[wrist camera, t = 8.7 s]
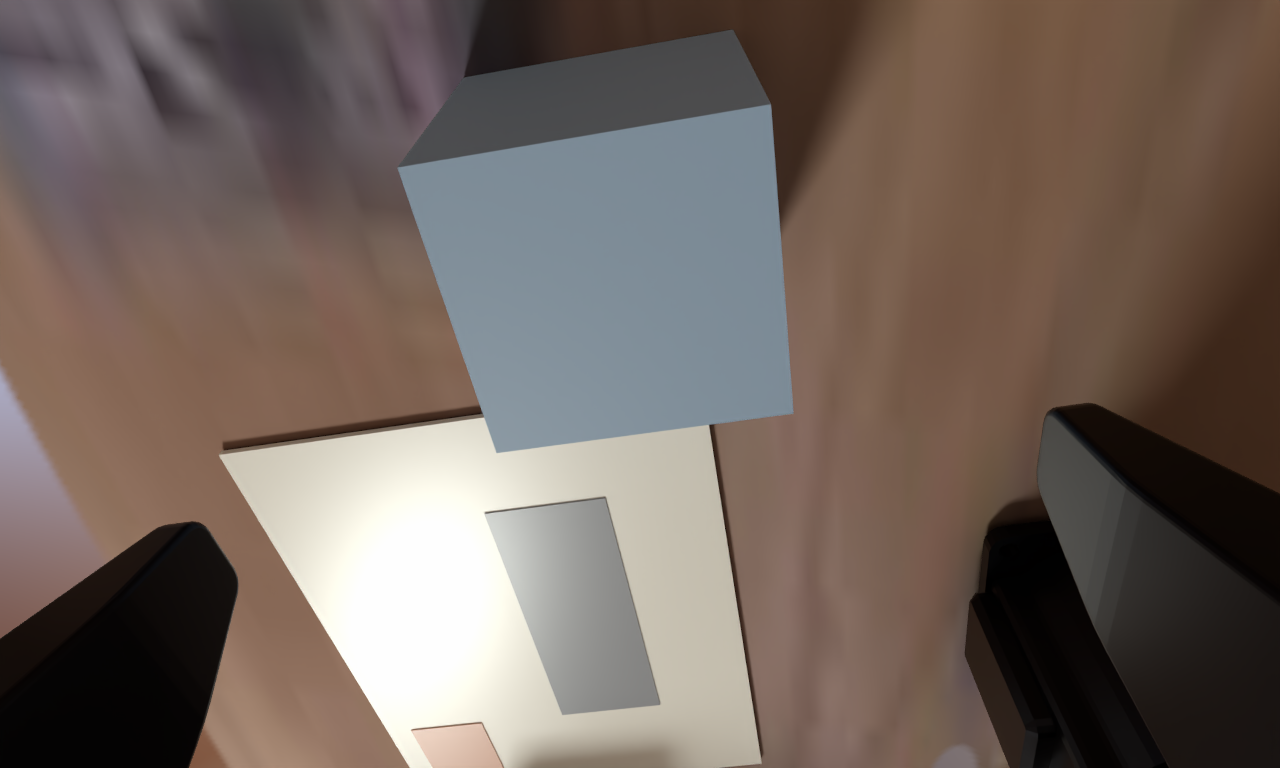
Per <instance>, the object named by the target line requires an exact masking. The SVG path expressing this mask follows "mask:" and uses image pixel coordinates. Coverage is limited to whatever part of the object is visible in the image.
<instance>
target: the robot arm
mask: <svg viewBox="0 0 1280 768" xmlns="http://www.w3.org/2000/svg"><path fill="white" fill-rule="evenodd" d="M1037 482H1038V487H1039V491H1040V494H1041V497H1042V499H1043V502H1044V504H1045V507H1046V509H1047V512H1048V515H1049V517H1050V521H1042V522H1033V523H1025V524H1017V525H1008V526H1002V527H998V528H996V529H994V530H992V531H990V532H989V533H988V534H987V535H986V537H985V539H984V543H983V553H982V563H981V573H980V583H979V593H975V594H974V596H973V597H972V599H971V600H970V602H969V613H968V624H967V634H966V645H965V657H966V659H967V662H968V664H969V667H970V669H971V672H972V674H973V677H974V679H975V682H976V684H977V687H978V690H979V692H980V695H981V697H982V700H983V702H984V705H985V707H986V710H987V712H988V715H989V717H990V720H991V722H992V725H993V727H994V730H995V732H996V735H997V737H998V740H999V742H1000V745H1001V747H1002V750H1003V752H1004V755H1005V757H1006V760H1007V762H1008V765H1009V767H1010V768H1280V494H1279V493H1277V492H1275V491H1273V490H1271V489H1269V488H1267V487H1265V486H1263V485H1261V484H1259V483H1257V482H1255V481H1253V480H1251V479H1249V478H1247V477H1244V476H1242V475H1240V474H1238V473H1236V472H1234V471H1232V470H1230V469H1228V468H1226V467H1224V466H1222V465H1220V464H1218V463H1216V462H1214V461H1212V460H1210V459H1208V458H1206V457H1204V456H1201V455H1199V454H1197V453H1195V452H1193V451H1191V450H1189V449H1187V448H1185V447H1183V446H1181V445H1179V444H1177V443H1175V442H1173V441H1171V440H1169V439H1167V438H1165V437H1163V436H1161V435H1159V434H1156V433H1154V432H1152V431H1150V430H1148V429H1146V428H1144V427H1142V426H1140V425H1138V424H1136V423H1134V422H1132V421H1130V420H1128V419H1126V418H1124V417H1122V416H1120V415H1118V414H1116V413H1114V412H1111V411H1109V410H1107V409H1105V408H1103V407H1101V406H1099V405H1096V404H1093V403H1083V404H1076V405H1068V406H1060V407H1055V408H1052V409H1051V410H1049V411H1048V412H1047V414H1046V416H1045V419H1044V423H1043V430H1042V437H1041V444H1040V451H1039V458H1038V465H1037ZM1006 544H1007V545H1006ZM237 594H238V577H237V574H236V571H235V569H234V567H233V566H232V564H231V563H230V561H229V560H228V558H227V557H226V555H225V554H224V552H223V551H222V549H221V548H220V546H219V545H218V543H217V542H216V540H215V539H214V537H213V535H212V534H211V532H210V531H209V530H208V528H207V527H206V526H204V525H203V524H201V523H199V522H193V521H191V522H183V523H176V524H168V525H164V526H161V527H158V528H156V529H155V530H153V531H152V532H150V533H149V534H148V535H146V536H145V537H143V538H142V539H141V540H139V541H138V542H136V543H135V544H133V545H132V546H131V547H129V548H128V549H126V550H125V551H124V552H122V553H121V554H119V555H118V556H116V557H115V558H114V559H112V560H111V561H109V562H108V563H107V564H105V565H104V566H102V567H101V568H99V569H98V570H97V571H95V572H94V573H92V574H91V575H90V576H88V577H87V578H85V579H84V580H83V581H81V582H80V583H78V584H77V585H76V586H74V587H73V588H71V589H70V590H68V591H67V592H66V593H64V594H63V595H61V596H60V597H58V598H57V599H56V600H54V601H53V602H51V603H50V604H49V605H47V606H46V607H44V608H43V609H41V610H40V611H39V612H37V613H36V614H34V615H33V616H32V617H30V618H29V619H27V620H26V621H24V622H23V623H22V624H20V625H19V626H17V627H16V628H15V629H13V630H12V631H10V632H9V633H8V634H6V635H5V636H3V637H2V638H0V768H189V766H190V763H191V760H192V758H193V755H194V752H195V749H196V747H197V744H198V741H199V738H200V735H201V732H202V729H203V726H204V723H205V720H206V716H207V712H208V709H209V705H210V702H211V698H212V694H213V690H214V686H215V682H216V678H217V674H218V670H219V666H220V662H221V658H222V654H223V650H224V646H225V642H226V638H227V634H228V630H229V626H230V622H231V618H232V614H233V610H234V606H235V602H236V598H237Z"/></svg>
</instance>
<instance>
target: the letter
mask: <svg viewBox="0 0 1280 768" xmlns="http://www.w3.org/2000/svg"><path fill="white" fill-rule="evenodd" d="M219 456H220V458H221V460H222V461H223V463H224V464H225V466H226V468H227V469H228V471H229V473H230V474H231V476H232V478H233V479H234V481H235V482H236V484H237V486H238V487H239V489H240V491H241V492H242V494H243V496H244V497H245V499H246V500H247V502H248V504H249V505H250V507H251V509H252V510H253V512H254V514H255V515H256V517H257V518H258V520H259V522H260V523H261V525H262V527H263V528H264V530H265V532H266V533H267V535H268V536H269V538H270V540H271V541H272V543H273V545H274V546H275V548H276V549H277V551H278V553H279V554H280V556H281V558H282V559H283V561H284V563H285V564H286V566H287V567H288V569H289V571H290V572H291V574H292V576H293V577H294V579H295V581H296V582H297V584H298V585H299V587H300V589H301V590H302V592H303V594H304V595H305V597H306V599H307V600H308V602H309V603H310V605H311V607H312V608H313V610H314V612H315V613H316V615H317V617H318V618H319V620H320V621H321V623H322V625H323V626H324V628H325V630H326V631H327V633H328V635H329V636H330V638H331V639H332V641H333V643H334V644H335V646H336V648H337V649H338V651H339V653H340V654H341V656H342V657H343V659H344V661H345V662H346V664H347V666H348V667H349V669H350V670H351V672H352V674H353V675H354V677H355V679H356V680H357V682H358V684H359V685H360V687H361V688H362V690H363V692H364V693H365V695H366V697H367V698H368V700H369V702H370V703H371V705H372V706H373V708H374V710H375V711H376V713H377V715H378V716H379V718H380V720H381V721H382V723H383V724H384V726H385V728H386V729H387V731H388V733H389V734H390V736H391V738H392V739H393V741H394V742H395V744H396V746H397V747H398V749H399V751H400V752H401V754H402V756H403V757H404V759H405V760H406V762H407V764H408V765H409V767H410V768H721V767H732V766H742V765H753V764H762V763H761V756H760V749H759V743H758V736H757V730H756V724H755V717H754V711H753V704H752V698H751V692H750V685H749V679H748V672H747V666H746V659H745V653H744V647H743V640H742V634H741V627H740V621H739V615H738V608H737V602H736V595H735V589H734V582H733V576H732V570H731V563H730V557H729V550H728V544H727V537H726V531H725V525H724V518H723V512H722V505H721V499H720V493H719V486H718V480H717V473H716V467H715V460H714V454H713V448H712V441H711V435H710V428H709V425H704V426H696V427H689V428H681V429H674V430H666V431H659V432H651V433H644V434H636V435H629V436H622V437H614V438H607V439H599V440H592V441H584V442H577V443H569V444H562V445H554V446H547V447H539V448H532V449H524V450H517V451H509V452H502V453H496V450H495V447H494V444H493V441H492V438H491V435H490V433H489V430H488V427H487V424H486V421H485V418H484V415H483V414H478V415H471V416H464V417H456V418H449V419H442V420H435V421H428V422H421V423H414V424H407V425H400V426H393V427H386V428H379V429H372V430H365V431H358V432H351V433H344V434H337V435H330V436H323V437H316V438H309V439H302V440H295V441H288V442H281V443H273V444H266V445H259V446H252V447H245V448H238V449H231V450H224V451H221V452H220V454H219Z"/></svg>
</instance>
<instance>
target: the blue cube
mask: <svg viewBox="0 0 1280 768" xmlns="http://www.w3.org/2000/svg"><path fill="white" fill-rule="evenodd" d="M398 171H399V173H400V176H401V179H402V182H403V185H404V188H405V191H406V194H407V197H408V199H409V202H410V205H411V208H412V211H413V214H414V217H415V220H416V222H417V225H418V228H419V231H420V234H421V237H422V240H423V243H424V245H425V248H426V251H427V254H428V257H429V260H430V263H431V266H432V268H433V271H434V274H435V277H436V280H437V283H438V286H439V289H440V292H441V294H442V297H443V300H444V303H445V306H446V309H447V312H448V315H449V317H450V320H451V323H452V326H453V329H454V332H455V335H456V338H457V340H458V343H459V346H460V349H461V352H462V355H463V358H464V361H465V364H466V366H467V369H468V372H469V375H470V378H471V381H472V384H473V387H474V389H475V392H476V395H477V398H478V401H479V404H480V407H481V410H482V412H483V415H484V418H485V421H486V424H487V427H488V430H489V433H490V435H491V438H492V441H493V444H494V447H495V450H496V453H502V452H509V451H517V450H524V449H532V448H539V447H547V446H554V445H562V444H569V443H577V442H584V441H592V440H599V439H607V438H614V437H622V436H629V435H636V434H644V433H651V432H659V431H666V430H674V429H681V428H689V427H696V426H704V425H711V424H719V423H726V422H734V421H741V420H749V419H756V418H763V417H771V416H778V415H786V414H793V400H792V386H791V372H790V359H789V345H788V331H787V317H786V303H785V290H784V276H783V262H782V248H781V234H780V221H779V207H778V193H777V179H776V166H775V152H774V138H773V124H772V110H771V103H770V101H769V99H768V97H767V95H766V93H765V91H764V89H763V87H762V85H761V83H760V81H759V80H758V78H757V76H756V74H755V72H754V70H753V68H752V66H751V64H750V62H749V60H748V58H747V56H746V54H745V52H744V50H743V48H742V46H741V44H740V42H739V40H738V38H737V36H736V34H735V32H734V30H727V31H722V32H716V33H710V34H705V35H699V36H694V37H688V38H682V39H677V40H671V41H666V42H660V43H654V44H649V45H643V46H638V47H632V48H627V49H621V50H615V51H610V52H604V53H599V54H593V55H587V56H582V57H576V58H571V59H565V60H559V61H554V62H548V63H543V64H537V65H531V66H526V67H520V68H515V69H509V70H503V71H498V72H492V73H487V74H481V75H475V76H470V77H464V78H463V79H462V81H461V82H460V84H459V85H458V86H457V88H456V89H455V90H454V92H453V93H452V94H451V96H450V97H449V98H448V100H447V101H446V102H445V104H444V105H443V107H442V108H441V109H440V111H439V112H438V113H437V115H436V116H435V117H434V119H433V120H432V121H431V123H430V124H429V126H428V127H427V128H426V130H425V131H424V132H423V134H422V135H421V136H420V138H419V139H418V140H417V142H416V143H415V145H414V146H413V147H412V149H411V150H410V151H409V153H408V154H407V155H406V157H405V158H404V159H403V161H402V162H401V164H400V165H399V166H398Z"/></svg>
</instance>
